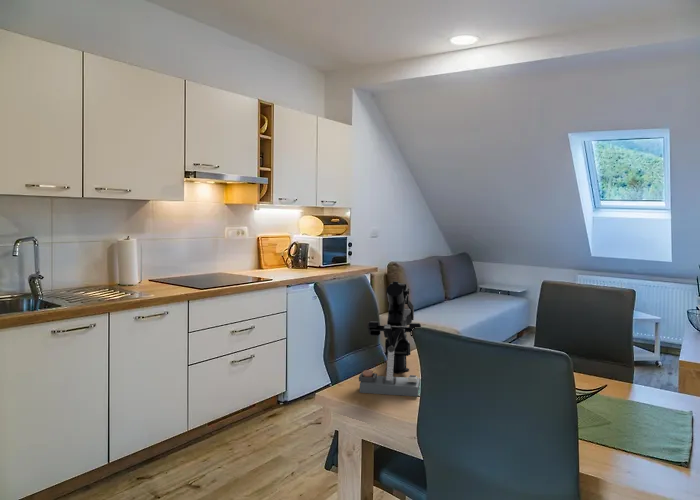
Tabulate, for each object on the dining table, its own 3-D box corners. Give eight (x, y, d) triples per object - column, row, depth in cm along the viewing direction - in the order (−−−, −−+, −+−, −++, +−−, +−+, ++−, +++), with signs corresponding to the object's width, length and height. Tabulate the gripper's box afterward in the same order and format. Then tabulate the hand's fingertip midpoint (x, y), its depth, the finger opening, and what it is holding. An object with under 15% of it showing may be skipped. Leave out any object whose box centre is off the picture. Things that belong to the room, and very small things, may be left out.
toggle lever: (386, 380, 170) (388, 346, 175) (393, 381, 170) (395, 346, 174) (385, 379, 168) (387, 344, 173) (392, 380, 168) (394, 345, 172)
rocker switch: (409, 379, 172) (409, 374, 172) (417, 379, 171) (417, 375, 171) (407, 381, 167) (407, 377, 168) (416, 382, 167) (416, 377, 167)
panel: (362, 383, 178) (362, 369, 177) (419, 387, 173) (419, 373, 173) (357, 392, 169) (357, 378, 168) (417, 396, 165) (417, 381, 164)
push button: (364, 374, 174) (364, 369, 174) (373, 374, 174) (373, 370, 173) (362, 377, 171) (362, 372, 171) (371, 377, 170) (371, 373, 170)
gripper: (423, 325, 190) (420, 363, 181) (373, 323, 194) (368, 360, 184) (421, 308, 182) (419, 347, 172) (369, 306, 186) (364, 344, 176)
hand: (392, 350), depth 176 cm, fingers closed
